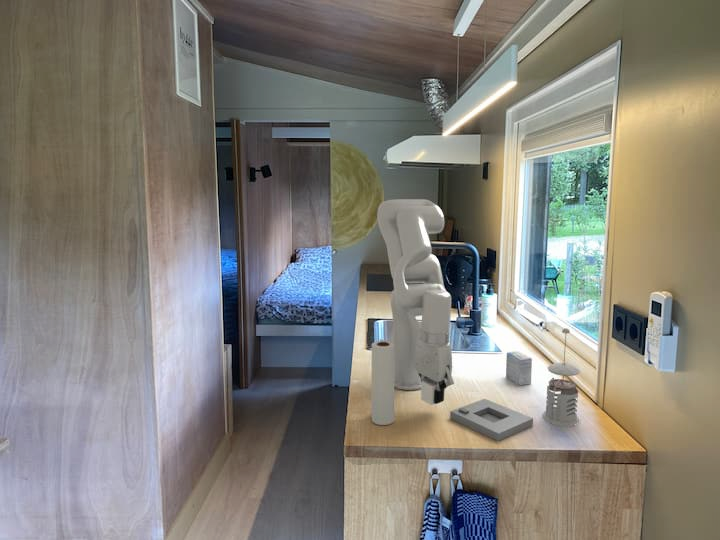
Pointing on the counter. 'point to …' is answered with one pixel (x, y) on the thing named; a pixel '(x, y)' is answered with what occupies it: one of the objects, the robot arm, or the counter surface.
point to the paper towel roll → (383, 382)
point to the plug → (428, 390)
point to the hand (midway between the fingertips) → (432, 398)
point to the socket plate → (491, 419)
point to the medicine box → (518, 368)
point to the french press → (562, 394)
